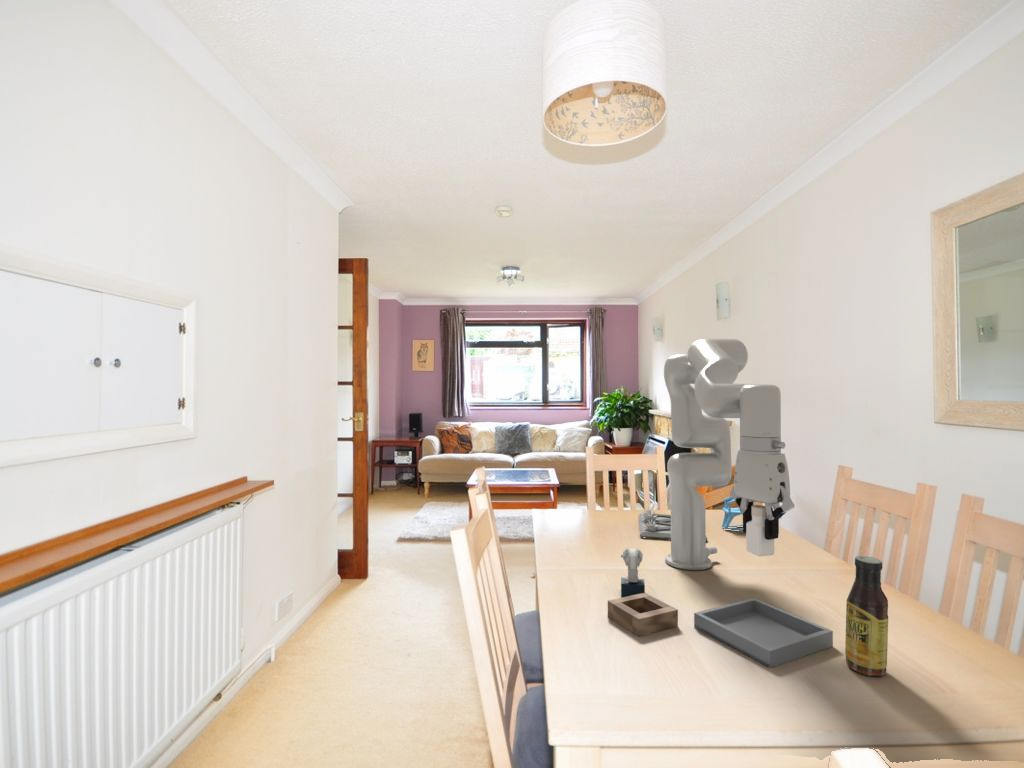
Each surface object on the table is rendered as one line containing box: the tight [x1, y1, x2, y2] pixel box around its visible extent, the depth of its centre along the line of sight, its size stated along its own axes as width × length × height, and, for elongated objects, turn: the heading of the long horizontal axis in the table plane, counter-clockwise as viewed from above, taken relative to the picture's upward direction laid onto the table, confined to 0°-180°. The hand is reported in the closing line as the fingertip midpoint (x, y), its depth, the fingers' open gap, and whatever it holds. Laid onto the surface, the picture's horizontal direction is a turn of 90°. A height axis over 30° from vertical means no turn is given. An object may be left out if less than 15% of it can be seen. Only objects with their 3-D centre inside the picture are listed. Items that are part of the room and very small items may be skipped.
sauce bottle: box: [844, 555, 889, 677], centre depth 94 cm, size 7×6×20 cm
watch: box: [620, 547, 646, 598], centre depth 128 cm, size 6×8×11 cm
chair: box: [721, 496, 743, 531], centre depth 188 cm, size 8×8×12 cm
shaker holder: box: [607, 592, 679, 637], centre depth 113 cm, size 10×10×4 cm
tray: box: [693, 597, 834, 669], centre depth 106 cm, size 18×18×3 cm
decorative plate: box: [637, 507, 708, 541], centre depth 189 cm, size 30×22×7 cm
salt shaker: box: [745, 504, 775, 557], centre depth 107 cm, size 4×4×10 cm
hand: (760, 534), depth 107 cm, fingers closed on salt shaker, 4 cm apart
